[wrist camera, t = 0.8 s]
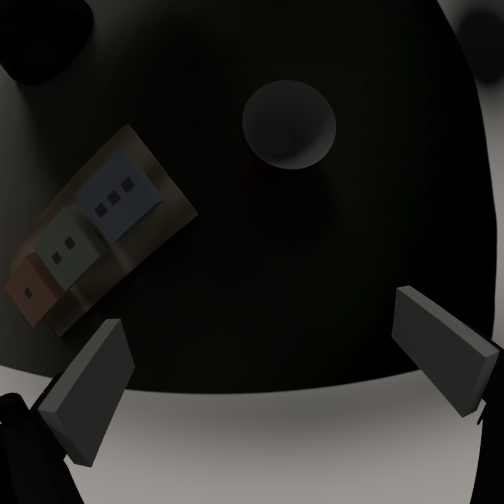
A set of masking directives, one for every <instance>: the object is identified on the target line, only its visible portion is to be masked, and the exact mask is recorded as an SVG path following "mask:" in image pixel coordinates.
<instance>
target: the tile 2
mask: <svg viewBox="0 0 504 504" xmlns="http://www.w3.org/2000/svg"><path fill="white" fill-rule="evenodd" d="M33 248H34V249H35V251H36V252H37V254H38V255H39V257H40V258H41V260H42V261H43V262H44V264H45V265H46V267H47V268H48V270H49V271H50V272H51V274H52V275H53V276H54V278H55V279H56V281H57V282H58V283H59V285H60V286H61V287H62V288H63V290H64V291H67V290H68V289H70V288H71V287H72V286H74V285H75V284H76V283H77V282H78V281H79V280H80V279H81V278H82V277H83V276H84V275H85V274H86V273H87V272H88V271H89V270H90V269H91V268H92V267H93V266H94V265H95V264H96V263H97V262H98V261H99V260H100V259H101V258H102V257H103V256H104V255H105V254H106V253H107V252H108V251H109V249H108V248H107V247H106V246H105V244H104V243H103V242H102V240H101V239H100V238H99V236H98V235H97V234H96V232H95V231H94V230H93V228H92V227H91V225H90V224H89V223H88V221H87V220H86V218H85V217H84V216H83V214H82V213H81V211H80V210H79V209H78V207H77V206H76V205H71V206H65V207H63V208H62V209H61V211H60V212H59V213H58V214H57V215H56V216H55V218H54V219H53V220H52V221H51V223H50V224H49V225H48V226H47V227H46V229H45V230H44V231H43V233H42V234H41V235H40V236H39V238H38V239H37V240H36V242H35V243H34V244H33Z"/></svg>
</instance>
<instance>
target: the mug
mask: <svg viewBox="0 0 504 504" xmlns="http://www.w3.org/2000/svg"><path fill="white" fill-rule="evenodd" d="M240 129H241V136H242V140H243V142H244V145H245V147H246V149H247V150H248V152H249V154H250V155H251V156H252V158H253V160H254V161H253V163H252V164H251V166H250V167H249V169H248V170H247V172H246V173H245V174H244V176H243V177H242V179H241V181H240V182H241V184H242V186H244V187H245V188H247V189H253V188H254V187H255V186H256V185H257V184H258V182H259V181H260V180H261V178H262V177H263V175H264V174H265V173H266V171H267V170H269V169H270V170H276V171H283V172H292V171H298V170H303V169H306V168H308V167H311V166H313V165H315V164H317V163H318V162H319V161H321V160H322V159H323V158H324V157H325V156H326V155H327V154H328V153H329V151H330V150H331V148H332V146H333V144H334V141H335V138H336V131H337V124H336V117H335V114H334V111H333V109H332V107H331V105H330V103H329V102H328V100H327V99H326V98H325V96H324V95H323V94H322V93H321V92H319V91H318V90H317V89H316V88H314V87H312V86H311V85H309V84H307V83H304V82H301V81H297V80H291V79H281V80H275V81H272V82H269V83H266V84H264V85H262V86H261V87H259V88H258V89H257V90H256V91H255V92H254V93H253V94H252V95H251V96H250V97H249V99H248V100H247V102H246V104H245V106H244V108H243V112H242V116H241V125H240Z"/></svg>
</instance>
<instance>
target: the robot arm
mask: <svg viewBox="0 0 504 504" xmlns="http://www.w3.org/2000/svg"><path fill="white" fill-rule="evenodd" d="M92 22H93V14H92V10H91V8H90V6H89V5H88V4H87V3H86V2H85V1H84V0H0V64H1V66H2V67H3V68H4V70H5V71H6V72H7V73H8V75H9V76H10V77H11V78H12V79H14V80H15V81H17V82H20V83H22V84H25V85H37V84H40V83H43V82H45V81H47V80H49V79H51V78H52V77H54V76H55V75H57V74H58V73H59V72H61V71H62V70H63V69H64V68H65V67H66V66H67V65H68V64H69V63H70V62H71V61H72V60H73V59H74V58H75V56H76V55H77V54H78V53H79V51H80V50H81V48H82V47H83V45H84V43H85V42H86V40H87V38H88V36H89V33H90V30H91V27H92ZM392 338H393V339H394V340H395V341H396V342H397V343H398V345H399V346H400V347H401V348H402V349H403V350H404V351H405V352H406V353H407V354H408V356H409V357H410V358H411V359H412V360H413V361H414V362H415V363H416V364H417V366H418V367H419V368H420V369H421V370H422V371H423V372H424V373H425V375H426V376H427V377H428V378H429V379H430V380H431V381H432V383H433V384H434V385H435V386H436V387H437V388H438V390H439V391H440V392H441V393H442V394H443V395H444V396H445V397H446V399H447V400H448V401H449V402H450V404H451V405H452V406H453V407H454V408H455V409H456V411H457V412H458V413H459V414H460V415H461V416H462V418H463V417H465V416H467V415H469V414H471V413H473V412H474V411H476V410H477V408H478V406H479V403H480V401H481V399H483V400H484V401H485V402H486V405H485V407H484V409H483V412H482V413H481V416H480V418H479V420H478V422H477V425H479V424H480V422H481V420H482V419H483V426H482V436H481V445H480V453H479V460H478V466H477V473H476V478H475V483H474V488H473V492H472V497H471V501H470V504H504V349H503V348H501V347H500V346H499V345H497V344H496V343H495V342H493V341H492V340H491V339H490V338H487V336H485V335H484V334H483V333H481V332H480V331H479V330H477V329H476V328H475V327H473V326H471V325H468V324H466V323H462V322H461V321H459V320H458V319H456V318H455V317H454V316H452V315H451V314H450V313H448V312H447V311H445V310H444V309H443V308H441V307H440V306H438V305H437V304H435V303H434V302H433V301H431V300H430V299H428V298H427V297H425V296H424V295H422V294H421V293H420V292H418V291H417V290H415V289H414V288H412V287H411V286H405V287H399V288H397V292H396V303H395V313H394V323H393V331H392ZM134 368H135V365H134V362H133V359H132V356H131V353H130V350H129V347H128V343H127V340H126V337H125V333H124V330H123V327H122V323H121V320H120V319H106V320H105V322H104V323H103V324H102V325H101V326H100V328H99V329H98V330H97V331H96V333H95V334H94V335H93V336H92V338H91V339H90V340H89V341H88V343H87V344H86V345H85V346H84V348H83V349H82V350H81V351H80V353H79V354H78V355H77V357H76V358H75V359H74V360H73V362H72V363H71V364H70V366H69V367H68V368H67V370H66V371H62V372H60V373H59V374H58V375H56V376H55V377H54V378H53V379H52V381H51V382H50V383H49V385H48V386H47V387H46V388H45V390H44V393H42V394H41V395H40V396H39V398H38V399H37V400H36V402H35V403H34V404H33V406H32V407H31V409H30V410H29V409H28V407H27V405H26V404H25V402H24V400H23V398H22V397H21V395H19V394H18V393H8V394H5V395H3V396H1V397H0V422H1V423H2V424H0V504H84V502H83V500H82V498H81V496H80V494H79V492H78V489H77V487H76V485H75V483H74V480H73V478H72V476H71V473H70V471H69V469H68V466H67V465H66V463H65V462H64V461H63V460H64V458H65V456H66V454H67V455H68V456H69V458H70V459H71V460H72V461H73V463H74V464H78V465H82V466H86V467H92V465H93V462H94V460H95V457H96V455H97V452H98V449H99V447H100V445H101V443H102V440H103V438H104V435H105V433H106V431H107V428H108V426H109V424H110V421H111V419H112V417H113V414H114V412H115V410H116V408H117V405H118V403H119V401H120V399H121V396H122V394H123V392H124V390H125V388H126V386H127V383H128V381H129V379H130V377H131V375H132V373H133V371H134Z"/></svg>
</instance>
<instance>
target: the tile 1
mask: <svg viewBox="0 0 504 504" xmlns="http://www.w3.org/2000/svg"><path fill="white" fill-rule="evenodd" d="M4 287H5V289H6V290H7V292H8V293H9V295H10V296H11V298H12V299H13V301H14V302H15V303H16V305H17V306H18V308H19V309H20V310H21V312H22V313H23V314H24V316H25V317H26V318H27V320H28V321H29V322H30V324H31V325H32V326H33V327H35V326H36V325H37V324H38V323H39V322H41V321H42V320H43V319H44V318H45V317H46V316H47V315H48V313H49V312H50V311H51V310H52V309H53V308H54V307H55V306H56V305H57V304H58V302H59V301H60V300H61V299H62V298H63V297H64V296H65V295H66V294H67V291H64V290H63V288H62V287H61V286H60V285H59V283H58V282H57V281H56V279H55V278H54V276H53V275H52V274H51V272H50V271H49V270H48V268H47V267H46V265H45V264H44V262H43V261H42V260H41V258H40V257H39V255H38V254H37V252H36V251H35V252H33V253H30V254H28V255H26V256H24V258H23V259H22V261H21V262H20V263H19V265H18V266H17V268H16V269H15V271H14V272H13V274H12V275H11V277H10V278H9V280H8V281H7V283H6V284H5V286H4Z"/></svg>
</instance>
